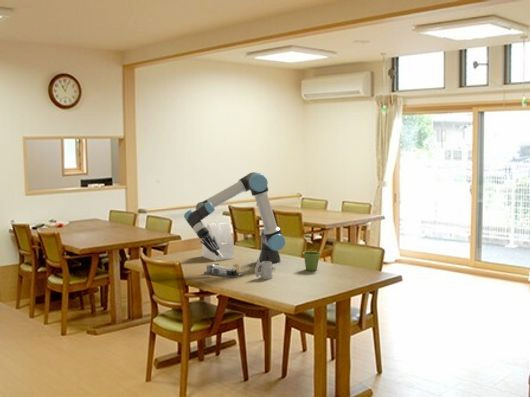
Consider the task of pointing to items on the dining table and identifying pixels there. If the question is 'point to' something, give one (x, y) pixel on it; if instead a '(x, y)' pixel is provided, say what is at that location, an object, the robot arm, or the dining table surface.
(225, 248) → the white box
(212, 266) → the white flat bar
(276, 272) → the dining table surface
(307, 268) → the plant pot
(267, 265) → the mug
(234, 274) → the base
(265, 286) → the dining table surface
